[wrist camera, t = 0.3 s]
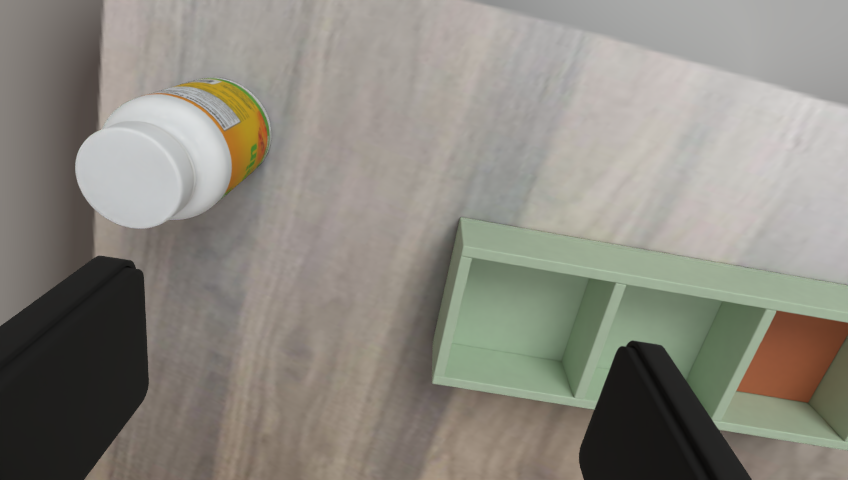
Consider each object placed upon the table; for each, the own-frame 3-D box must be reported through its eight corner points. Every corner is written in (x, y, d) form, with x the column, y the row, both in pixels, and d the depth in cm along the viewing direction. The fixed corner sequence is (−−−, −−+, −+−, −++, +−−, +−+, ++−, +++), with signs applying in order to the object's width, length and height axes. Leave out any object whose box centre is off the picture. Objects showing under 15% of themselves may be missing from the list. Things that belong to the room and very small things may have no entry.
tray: (460, 216, 31) (463, 245, 27) (872, 289, 32) (930, 326, 28) (432, 342, 34) (431, 384, 30) (805, 404, 35) (849, 451, 31)
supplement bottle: (240, 194, 30) (158, 272, 22) (155, 134, 29) (31, 190, 20) (292, 121, 29) (227, 171, 20) (205, 53, 27) (92, 75, 19)
